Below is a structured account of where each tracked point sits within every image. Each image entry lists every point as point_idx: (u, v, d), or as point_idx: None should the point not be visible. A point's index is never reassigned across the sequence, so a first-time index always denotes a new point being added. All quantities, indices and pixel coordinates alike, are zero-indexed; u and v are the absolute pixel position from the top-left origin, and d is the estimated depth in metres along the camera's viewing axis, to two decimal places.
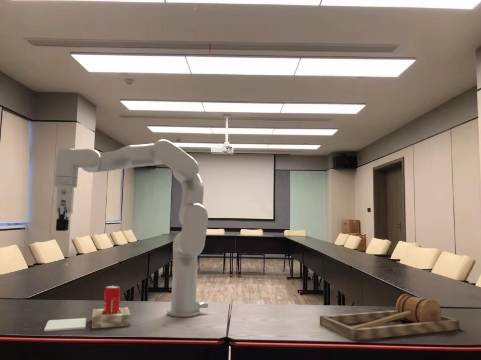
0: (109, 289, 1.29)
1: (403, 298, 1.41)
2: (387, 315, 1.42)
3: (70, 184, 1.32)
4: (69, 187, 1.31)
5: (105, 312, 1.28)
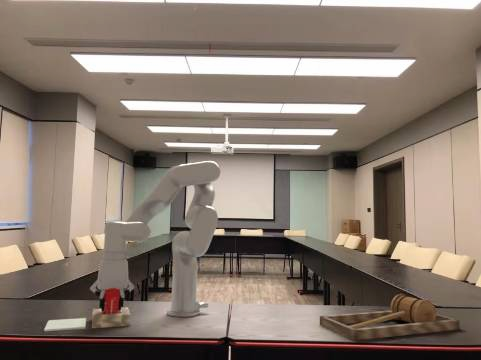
0: (109, 289, 1.29)
1: (398, 298, 1.40)
2: None
3: None
4: None
5: (105, 312, 1.28)
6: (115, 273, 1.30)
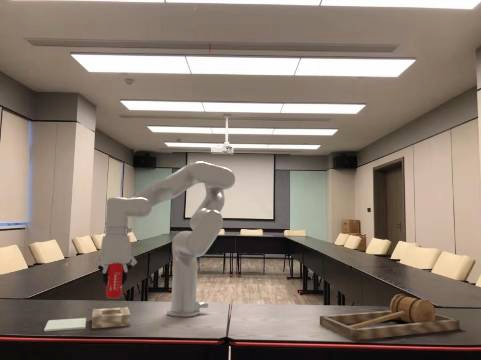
0: (112, 264, 1.30)
1: (397, 298, 1.40)
2: None
3: None
4: None
5: (108, 286, 1.29)
6: (117, 248, 1.31)
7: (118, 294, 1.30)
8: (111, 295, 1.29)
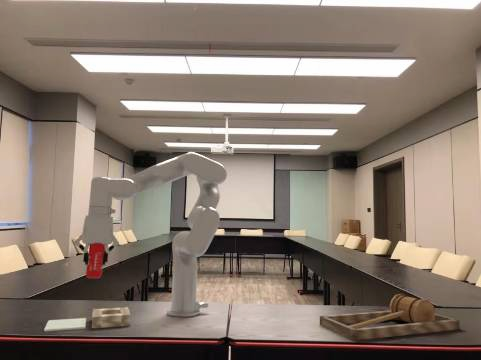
0: (94, 243, 1.28)
1: (397, 298, 1.41)
2: None
3: None
4: None
5: (88, 266, 1.27)
6: (100, 228, 1.29)
7: (98, 274, 1.28)
8: (91, 275, 1.27)
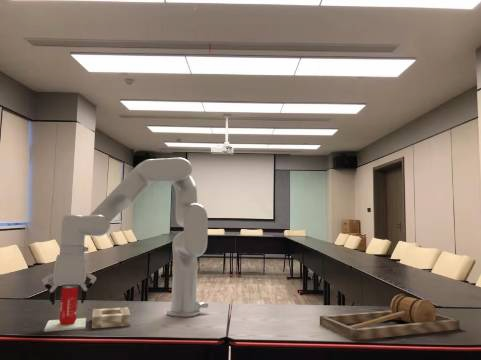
0: (66, 289, 1.24)
1: (398, 298, 1.40)
2: None
3: None
4: None
5: (61, 313, 1.23)
6: (72, 268, 1.25)
7: (72, 320, 1.24)
8: (64, 322, 1.23)
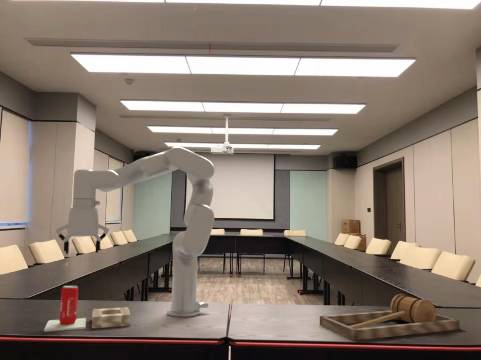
0: (66, 289, 1.24)
1: (398, 298, 1.40)
2: None
3: None
4: None
5: (61, 313, 1.23)
6: (85, 220, 1.31)
7: (72, 320, 1.24)
8: (64, 322, 1.23)
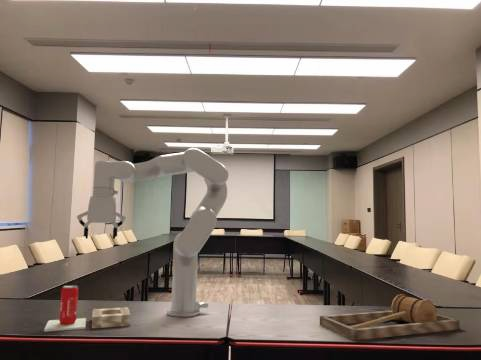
0: (66, 289, 1.24)
1: (398, 298, 1.40)
2: (387, 315, 1.42)
3: None
4: None
5: (61, 313, 1.23)
6: (104, 207, 1.40)
7: (72, 320, 1.24)
8: (64, 322, 1.23)
